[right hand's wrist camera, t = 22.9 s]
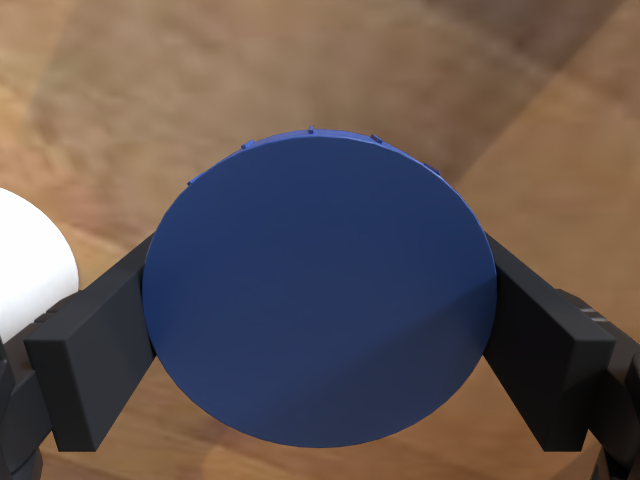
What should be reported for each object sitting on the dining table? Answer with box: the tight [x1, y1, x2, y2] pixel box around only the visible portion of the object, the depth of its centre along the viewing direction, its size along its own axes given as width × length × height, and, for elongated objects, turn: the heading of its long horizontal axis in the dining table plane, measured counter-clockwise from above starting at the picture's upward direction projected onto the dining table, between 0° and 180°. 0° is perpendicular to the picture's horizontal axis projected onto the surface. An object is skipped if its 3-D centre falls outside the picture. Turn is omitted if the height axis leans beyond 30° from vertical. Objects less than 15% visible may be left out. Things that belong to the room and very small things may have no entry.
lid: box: [142, 126, 497, 448], centre depth 11 cm, size 9×9×2 cm
